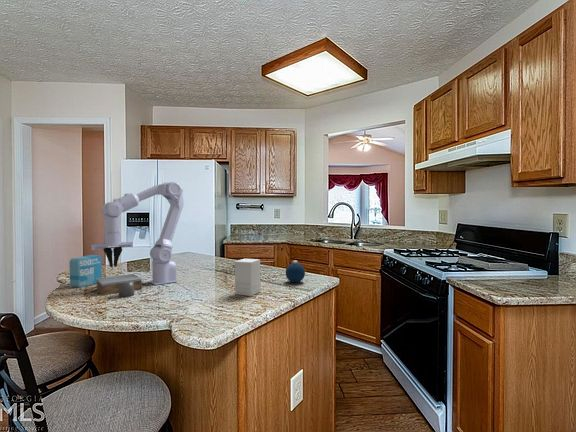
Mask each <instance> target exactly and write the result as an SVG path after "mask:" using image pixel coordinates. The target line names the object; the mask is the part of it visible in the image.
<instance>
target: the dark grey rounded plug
mask: <svg viewBox="0 0 576 432" xmlns="http://www.w3.org/2000/svg"><path fill="white" fill-rule="evenodd" d="M118 286H119V293H118V297H119V298H129V297H133V296H134V295H135V290H134V281H122V282H119V283H118Z"/></svg>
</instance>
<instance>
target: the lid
mask: <svg viewBox="0 0 576 432" xmlns="http://www.w3.org/2000/svg"><path fill="white" fill-rule="evenodd" d="M97 281H98V282H99V283H100V284H101V285H102V286H107V285H114V284H118V283H119V282H122V281H134V282H135V281H142V277H139V276H138V275H136V274H135V273H131V274H130V273H129V274H124V275H114V276H113V275H112V276H108V277H102V278H97Z"/></svg>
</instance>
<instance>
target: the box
mask: <svg viewBox="0 0 576 432" xmlns="http://www.w3.org/2000/svg"><path fill="white" fill-rule="evenodd" d="M142 285H143V283H142V281H135V282H134V291H139V290H142V289H143V287H142ZM96 290H97V291H98V292H99V293H100V294H101V296H107V295H114V294H119V286H118V284H114V285H107V286H102V285H101V284H100V283H99V282H98V281H97V283H96Z"/></svg>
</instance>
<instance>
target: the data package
mask: <svg viewBox="0 0 576 432" xmlns="http://www.w3.org/2000/svg"><path fill="white" fill-rule="evenodd" d="M102 261H103V260H102V256H101V255H98V254H88V255H83V256H76V257H72V258H70V259H69V284H70V286H71V287H72V288H84V287H88V286H91V285H95V284H96V285H97V278H103V274H102V273H103V267H102V266H103V265H102Z"/></svg>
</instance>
